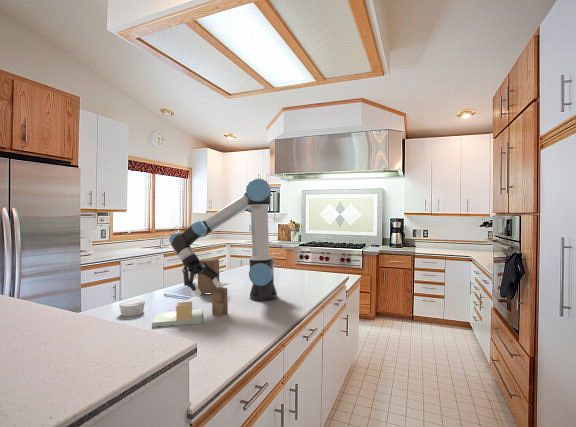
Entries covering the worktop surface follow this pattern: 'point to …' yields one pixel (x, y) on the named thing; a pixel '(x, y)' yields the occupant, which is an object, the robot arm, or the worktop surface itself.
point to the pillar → (219, 301)
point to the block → (205, 282)
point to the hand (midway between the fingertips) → (210, 292)
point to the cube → (184, 310)
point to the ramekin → (132, 307)
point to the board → (170, 318)
